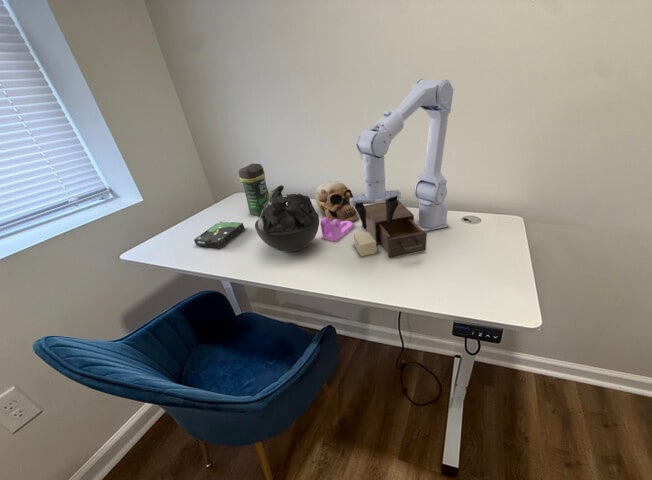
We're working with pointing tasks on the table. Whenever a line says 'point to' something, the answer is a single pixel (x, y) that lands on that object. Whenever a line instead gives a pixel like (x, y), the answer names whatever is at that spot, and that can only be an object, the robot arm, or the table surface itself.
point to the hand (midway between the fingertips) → (376, 225)
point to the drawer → (401, 237)
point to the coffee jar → (254, 187)
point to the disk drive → (219, 234)
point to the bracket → (334, 228)
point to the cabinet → (383, 216)
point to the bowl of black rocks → (287, 221)
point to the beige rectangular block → (365, 244)
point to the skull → (335, 201)
